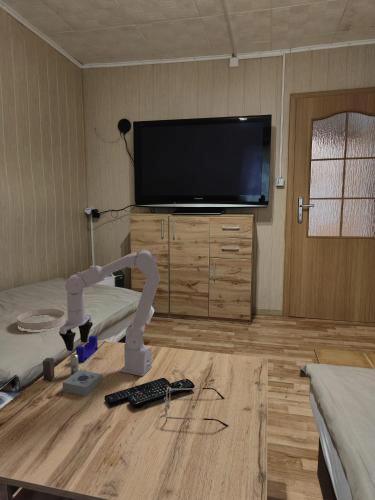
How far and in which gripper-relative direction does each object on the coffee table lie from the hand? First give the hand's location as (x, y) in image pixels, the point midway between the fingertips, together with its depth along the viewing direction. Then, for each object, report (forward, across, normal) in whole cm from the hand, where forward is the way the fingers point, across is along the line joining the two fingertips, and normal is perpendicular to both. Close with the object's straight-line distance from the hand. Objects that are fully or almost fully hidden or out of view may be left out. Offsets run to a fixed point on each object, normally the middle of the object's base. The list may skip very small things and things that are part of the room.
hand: (77, 346), depth 120 cm
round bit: (+10, +1, 0) cm, 10 cm away
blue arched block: (+10, -13, -6) cm, 17 cm away
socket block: (+10, +7, +8) cm, 14 cm away
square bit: (+10, +8, -6) cm, 14 cm away
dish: (+10, -33, -48) cm, 59 cm away
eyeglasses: (+11, +6, +47) cm, 48 cm away
